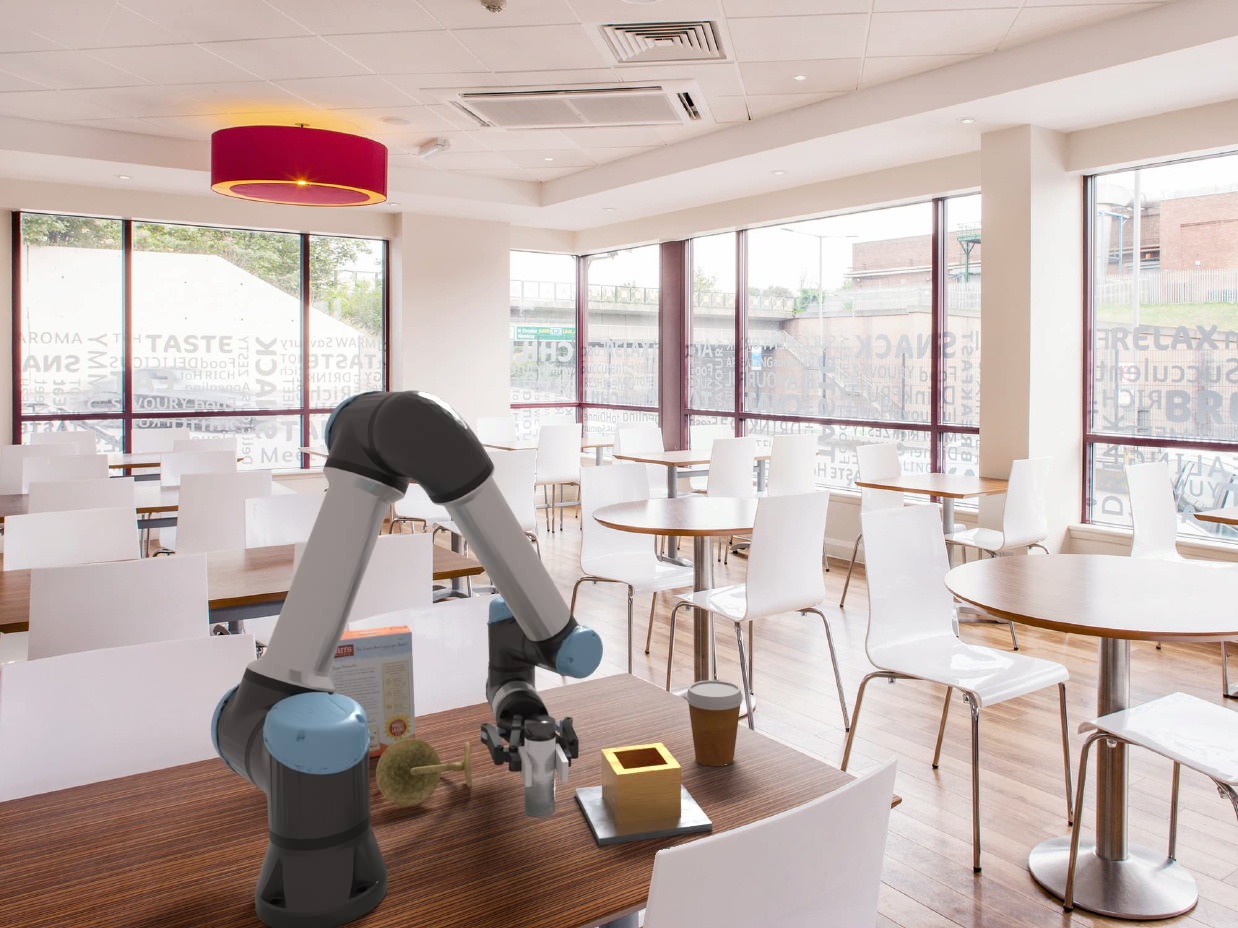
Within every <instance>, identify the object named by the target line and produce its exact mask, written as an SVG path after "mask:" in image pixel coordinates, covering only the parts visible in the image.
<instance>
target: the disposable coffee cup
mask: <svg viewBox="0 0 1238 928" xmlns="http://www.w3.org/2000/svg"><path fill="white" fill-rule="evenodd" d="M685 699H686V702H687V703H688V710H689V718H690V724H691V725H690V726H691V733H692V740H693V741H692V742H693V748H694V757H695V758H696V759H695V760H697V761H698V762H699V763H698V762H697V761H696V762H697V763H698V764H700V763H701V765H703V764H705V765H704V766H706V765H709V766H708V767H714V766H719V767H723V766H722V765H725V764H729V763H731V762H732V761H733V762H734V760H735V759H734V758H735V750H736V744H737V734H738V727H739V719H740V712H741V711H740V710H741V705H742V702H743V700H744V694H743V693H742V690H741V687H740V686H739V685H737V684H736V683H734V682H732V681H731V682H730V681H725V680H714V679H712V680H700V681H699V680H698V681H696V682H694V683H690V685H689V686H688V687H687V692H686V693H685ZM733 759H734V760H733ZM733 762H732V763H733ZM732 763H731V764H732ZM729 765H730V764H729Z"/></svg>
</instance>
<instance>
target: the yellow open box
mask: <svg viewBox="0 0 1238 928" xmlns="http://www.w3.org/2000/svg"><path fill="white" fill-rule="evenodd" d="M574 792H575V793H574V795H575V797H576V799H577V802H578V804H579V805H580V809H581V810H582V812H583V814H584V817H585V819H586V821H587V823H588V824H589V827H590V828H591V829H590V830H591V831H592V834H593V835H594V837H595V839H596V842H597V843H598V846H606V845H614V844H622V843H628V842H636V841H643V840H651V839H658V838H665V837H672V836H679V835H678V834H681V835H687V833H688V834H695V833H702V832H710V831H713V823H712V821H711V820H710V819H709V817H708V816H707V814H706V813H705V812H704V811H703V809H702V808H701V807H700V805H699V804H698V802H696V800H695V799H694V798H693V797H692V795H691V794H690V793H689V792H688V790H687V789H686V787H684V784H682V766H681V765H680V764H679V763H678V762H677V760H676V759H675V758H674V756H673V755H672V754H671V752H669V750H668V749H667V748H666V747H665V745H664V744H663V743H662V742H657V743H649V744H646V743H645V744H638V745H629V746H619V747H610V748H604V749H603V748H602V749H601V785H596V786H595V785H593V786H585V787H577V788H575V789H574ZM693 832H694V833H693Z"/></svg>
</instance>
